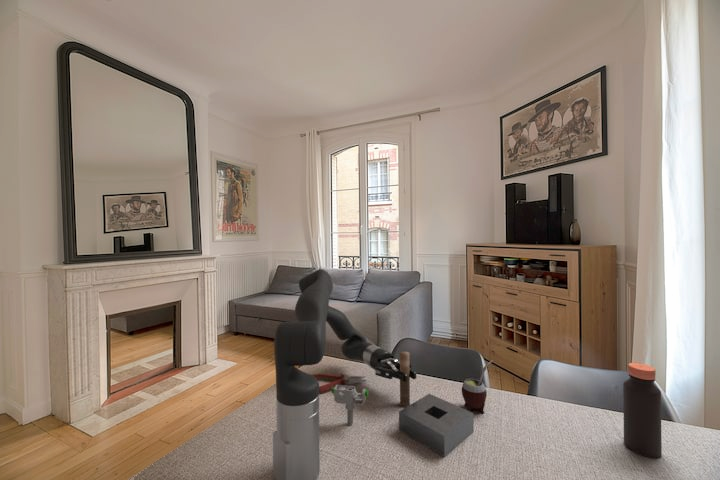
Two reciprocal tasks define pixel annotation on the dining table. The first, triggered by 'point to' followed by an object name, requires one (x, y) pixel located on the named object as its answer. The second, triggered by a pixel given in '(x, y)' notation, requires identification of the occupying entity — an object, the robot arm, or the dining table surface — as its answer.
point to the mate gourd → (475, 393)
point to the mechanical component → (349, 399)
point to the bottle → (642, 411)
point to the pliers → (336, 381)
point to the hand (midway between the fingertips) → (410, 377)
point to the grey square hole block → (436, 423)
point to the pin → (403, 385)
